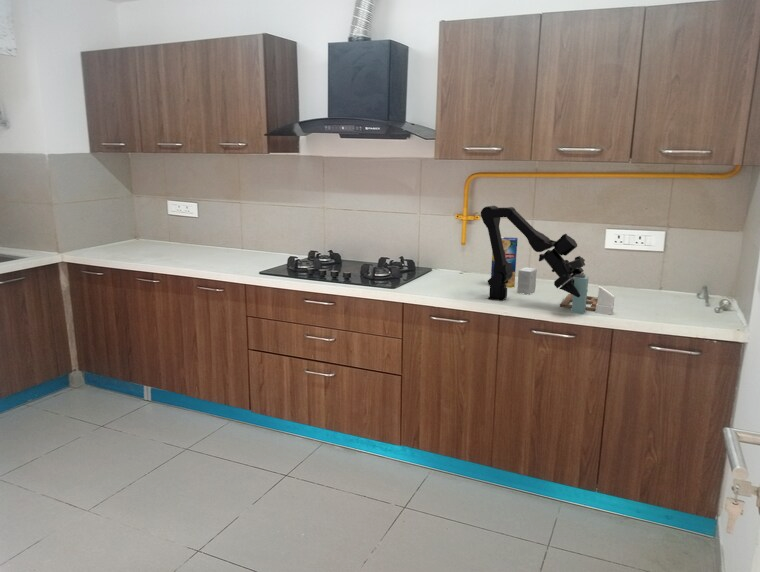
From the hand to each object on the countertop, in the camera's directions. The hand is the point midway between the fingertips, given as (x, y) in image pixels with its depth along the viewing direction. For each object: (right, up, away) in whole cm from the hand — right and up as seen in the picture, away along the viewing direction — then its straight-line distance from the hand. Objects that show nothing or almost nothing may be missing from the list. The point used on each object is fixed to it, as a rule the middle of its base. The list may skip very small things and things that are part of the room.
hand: (583, 294), depth 223 cm
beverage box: (-21, +3, +46) cm, 51 cm away
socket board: (+4, -4, +14) cm, 16 cm away
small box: (-14, 0, +33) cm, 36 cm away
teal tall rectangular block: (-1, -7, +2) cm, 7 cm away
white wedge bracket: (+9, -7, +2) cm, 12 cm away
